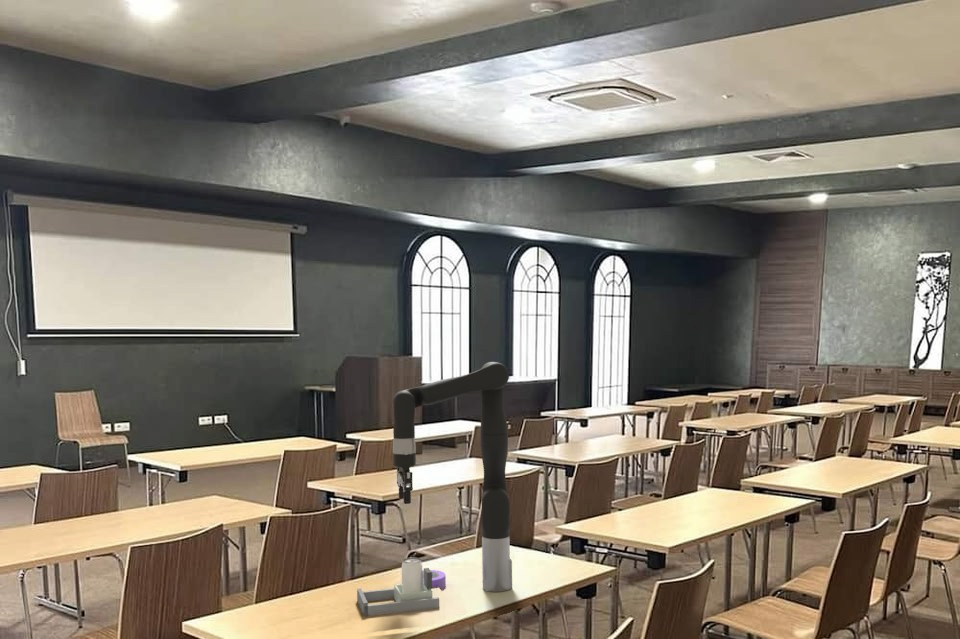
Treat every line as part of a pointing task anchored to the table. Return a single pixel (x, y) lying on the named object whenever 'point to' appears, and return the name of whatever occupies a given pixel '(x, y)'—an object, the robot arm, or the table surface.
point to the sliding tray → (416, 595)
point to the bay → (391, 603)
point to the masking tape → (437, 578)
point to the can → (412, 575)
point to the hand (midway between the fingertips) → (404, 501)
